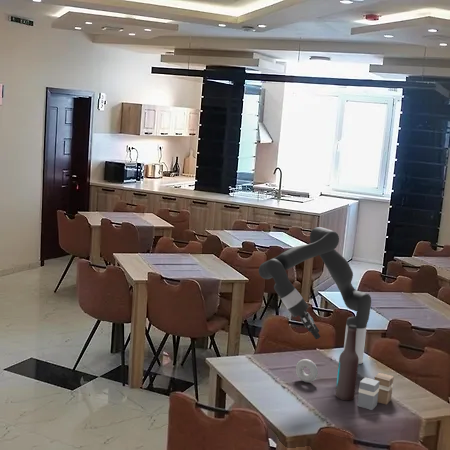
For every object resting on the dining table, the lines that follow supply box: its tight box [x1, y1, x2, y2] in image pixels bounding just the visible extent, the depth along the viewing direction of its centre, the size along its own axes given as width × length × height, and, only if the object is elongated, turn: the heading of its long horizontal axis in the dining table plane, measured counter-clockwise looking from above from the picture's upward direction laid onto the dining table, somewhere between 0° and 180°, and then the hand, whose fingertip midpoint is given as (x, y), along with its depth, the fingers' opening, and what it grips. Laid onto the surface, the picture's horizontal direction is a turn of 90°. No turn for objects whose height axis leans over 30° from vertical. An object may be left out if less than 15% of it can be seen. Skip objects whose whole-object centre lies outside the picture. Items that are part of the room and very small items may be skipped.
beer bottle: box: [335, 325, 359, 401], centre depth 272 cm, size 8×8×30 cm
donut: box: [295, 358, 319, 383], centre depth 286 cm, size 10×4×10 cm, turn 57°
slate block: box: [356, 377, 380, 411], centre depth 267 cm, size 6×6×10 cm
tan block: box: [373, 372, 395, 405], centre depth 273 cm, size 6×6×10 cm
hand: (318, 335), depth 272 cm, fingers open, 8 cm apart
